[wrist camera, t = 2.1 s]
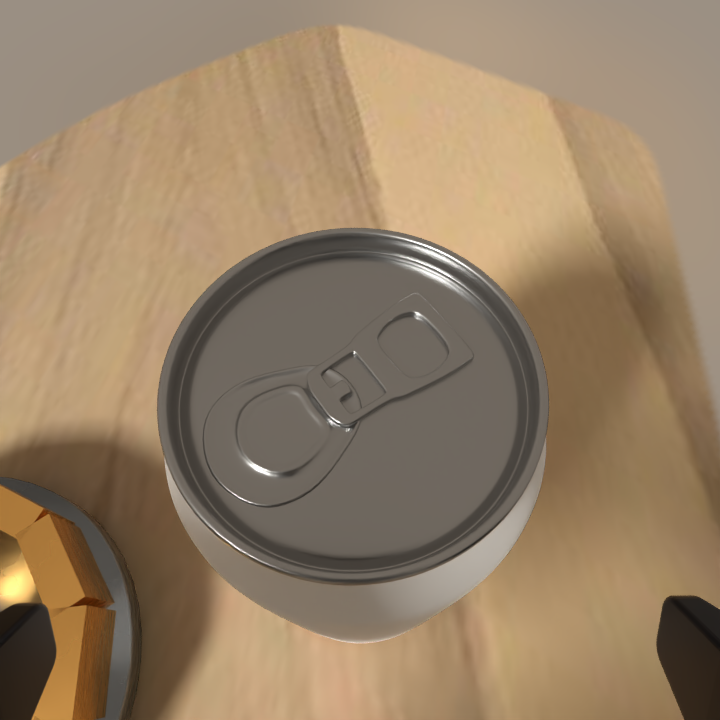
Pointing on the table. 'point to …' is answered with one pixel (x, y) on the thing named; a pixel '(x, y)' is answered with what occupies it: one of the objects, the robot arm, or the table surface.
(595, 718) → the table surface
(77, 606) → the ring plate
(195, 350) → the can
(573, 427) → the table surface
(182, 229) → the table surface
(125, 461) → the table surface
